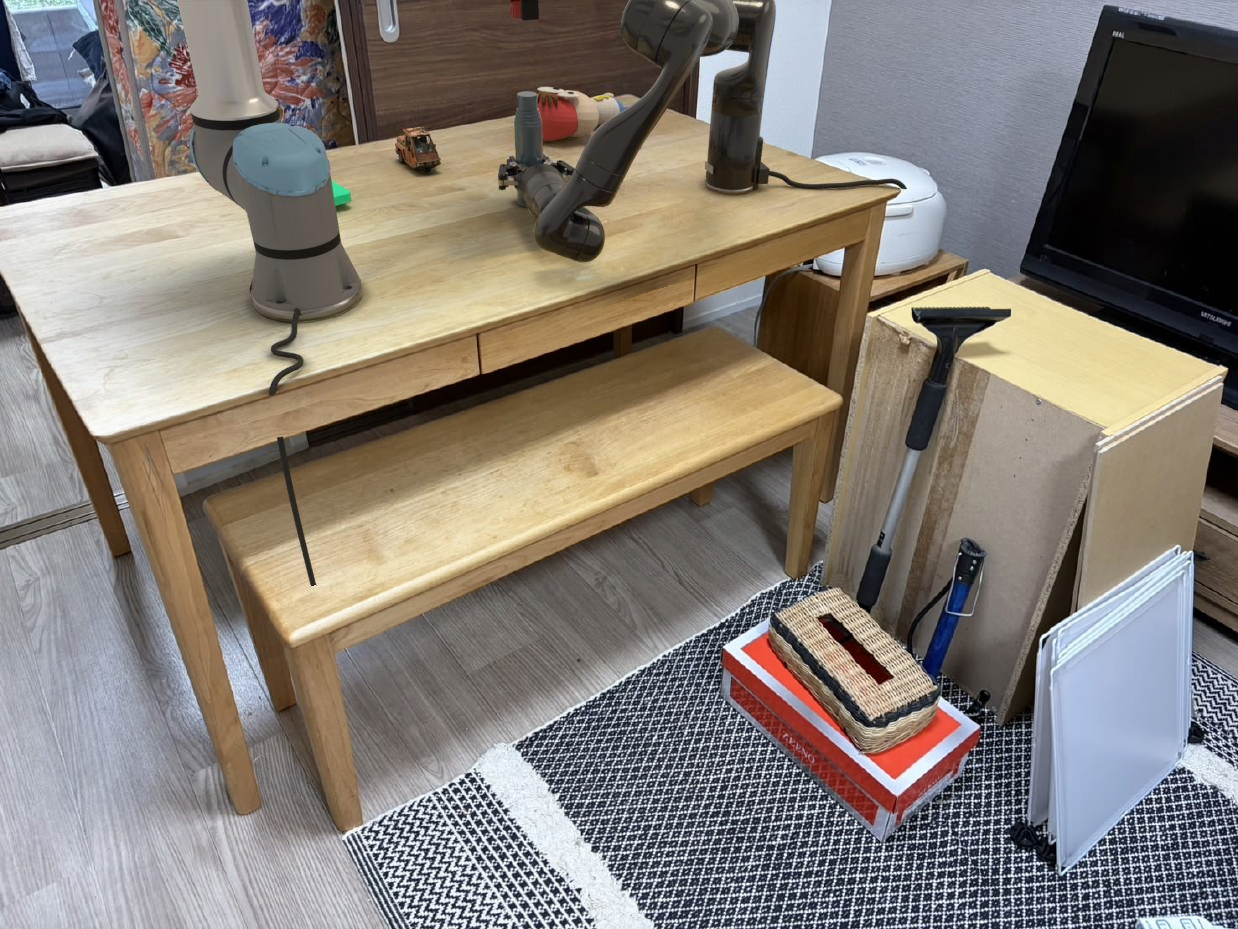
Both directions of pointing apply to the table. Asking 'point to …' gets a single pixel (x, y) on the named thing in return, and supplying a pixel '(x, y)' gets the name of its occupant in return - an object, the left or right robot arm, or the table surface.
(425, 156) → the toy car
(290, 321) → the left robot arm
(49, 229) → the table surface
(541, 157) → the bottle
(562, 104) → the toy
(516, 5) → the cap
